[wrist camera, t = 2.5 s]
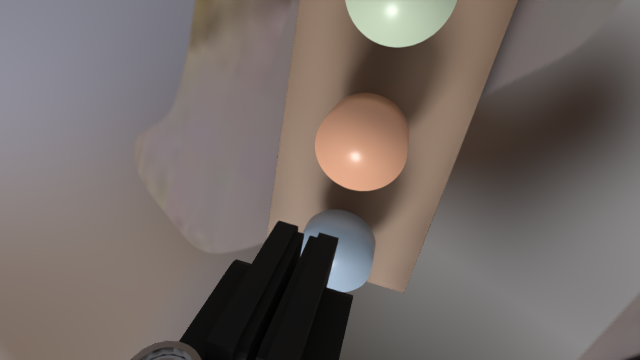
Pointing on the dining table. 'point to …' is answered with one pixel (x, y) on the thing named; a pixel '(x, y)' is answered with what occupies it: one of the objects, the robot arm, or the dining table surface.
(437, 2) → the sage green button
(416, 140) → the button panel
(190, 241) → the dining table surface
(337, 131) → the terracotta button
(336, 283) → the slate blue button
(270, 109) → the dining table surface
